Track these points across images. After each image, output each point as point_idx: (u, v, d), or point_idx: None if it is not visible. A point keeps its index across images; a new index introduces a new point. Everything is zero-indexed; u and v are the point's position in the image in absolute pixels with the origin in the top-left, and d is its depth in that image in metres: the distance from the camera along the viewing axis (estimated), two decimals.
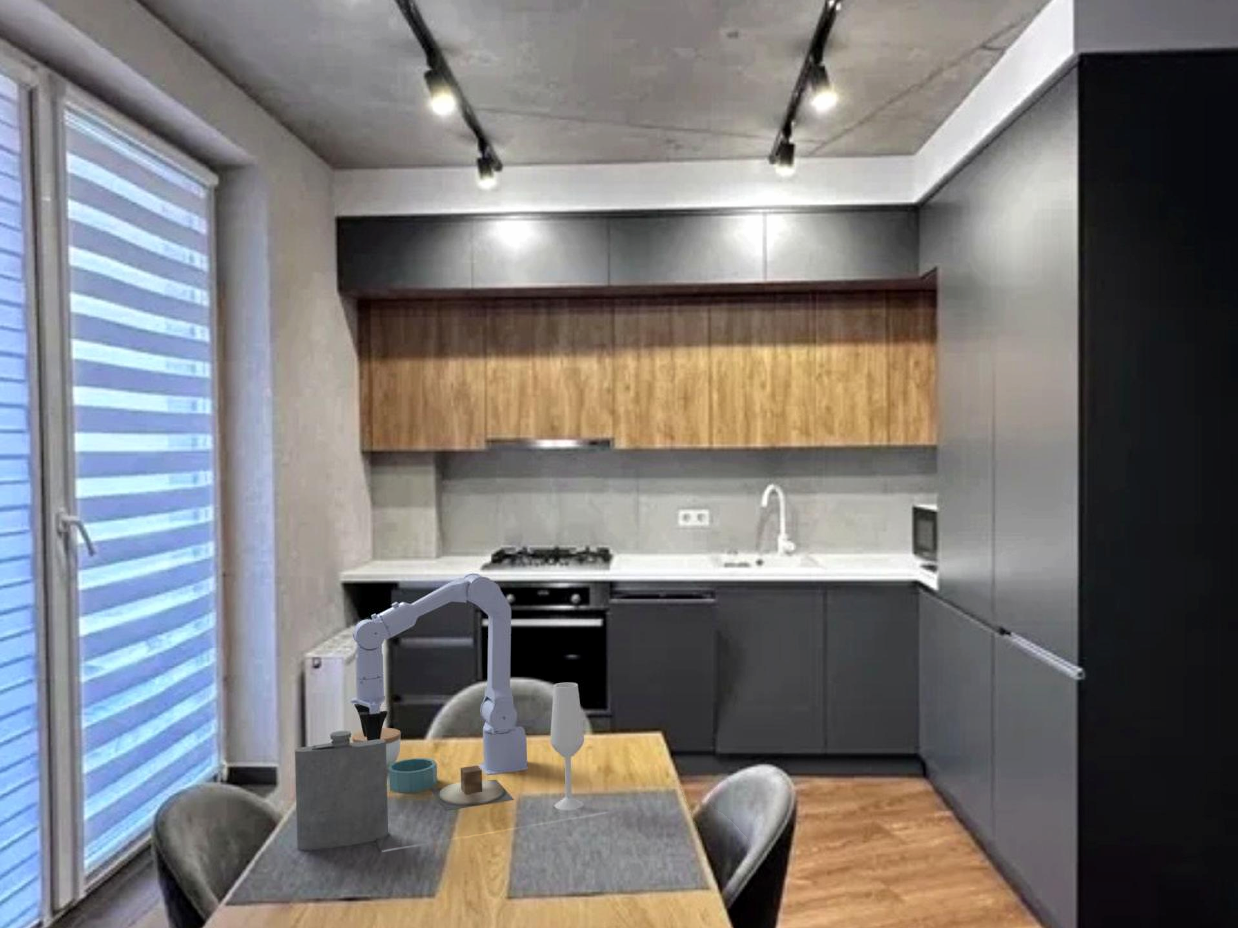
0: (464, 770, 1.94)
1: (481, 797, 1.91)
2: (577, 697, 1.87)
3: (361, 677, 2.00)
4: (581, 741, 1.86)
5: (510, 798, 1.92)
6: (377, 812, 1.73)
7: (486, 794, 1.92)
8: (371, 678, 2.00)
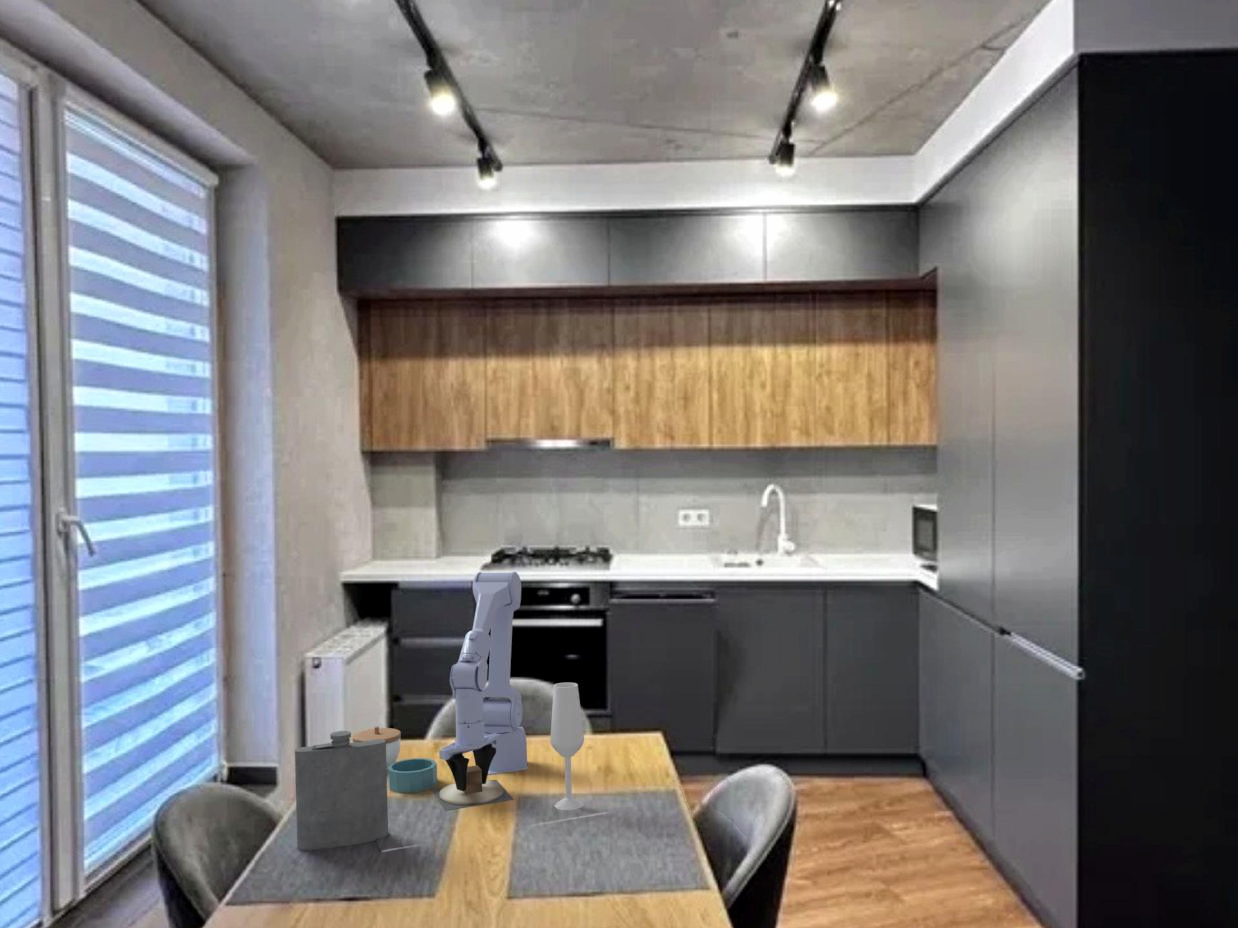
0: None
1: (481, 797, 1.91)
2: (577, 697, 1.87)
3: (476, 720, 1.93)
4: (581, 741, 1.86)
5: (510, 798, 1.92)
6: (377, 812, 1.73)
7: (486, 794, 1.92)
8: (458, 722, 1.93)
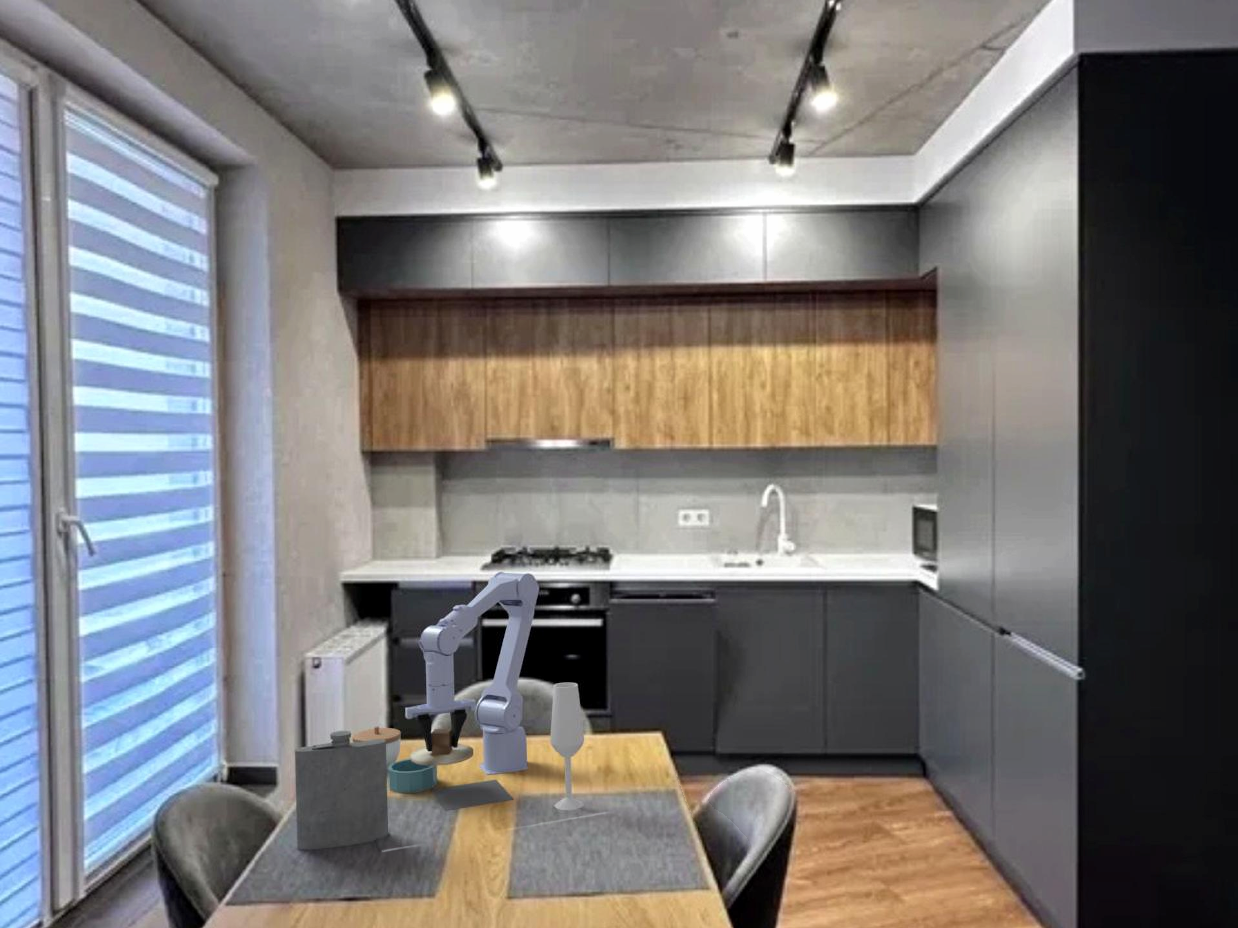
0: (434, 731, 1.99)
1: (440, 759, 1.94)
2: (577, 697, 1.87)
3: (440, 684, 1.96)
4: (581, 741, 1.86)
5: (510, 798, 1.92)
6: (377, 812, 1.73)
7: (448, 757, 1.95)
8: (426, 684, 1.98)
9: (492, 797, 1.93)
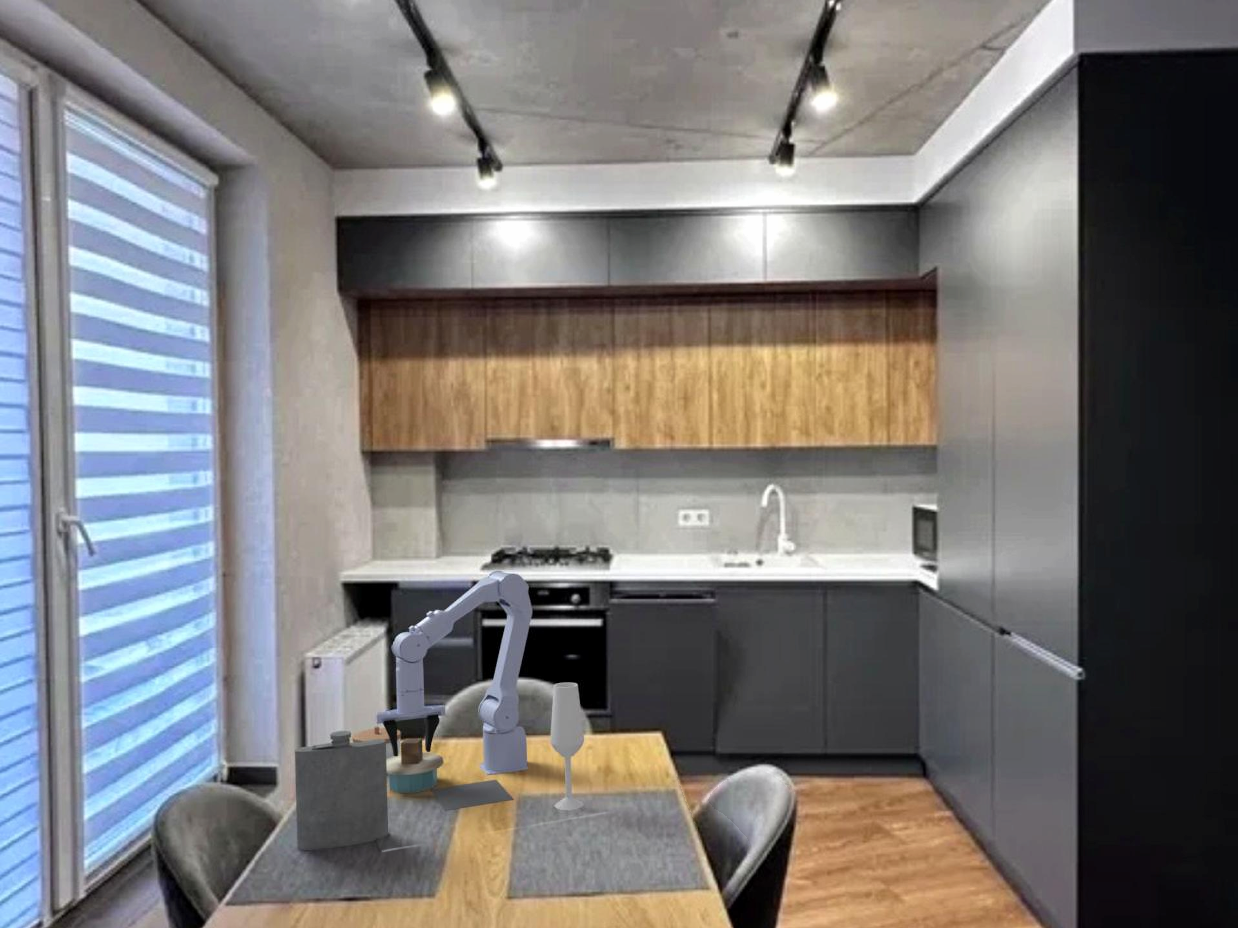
0: (404, 741, 2.02)
1: (408, 769, 1.97)
2: (577, 697, 1.87)
3: (404, 690, 2.00)
4: (581, 741, 1.86)
5: (510, 798, 1.92)
6: (377, 812, 1.73)
7: (417, 767, 1.99)
8: None
9: (492, 797, 1.93)
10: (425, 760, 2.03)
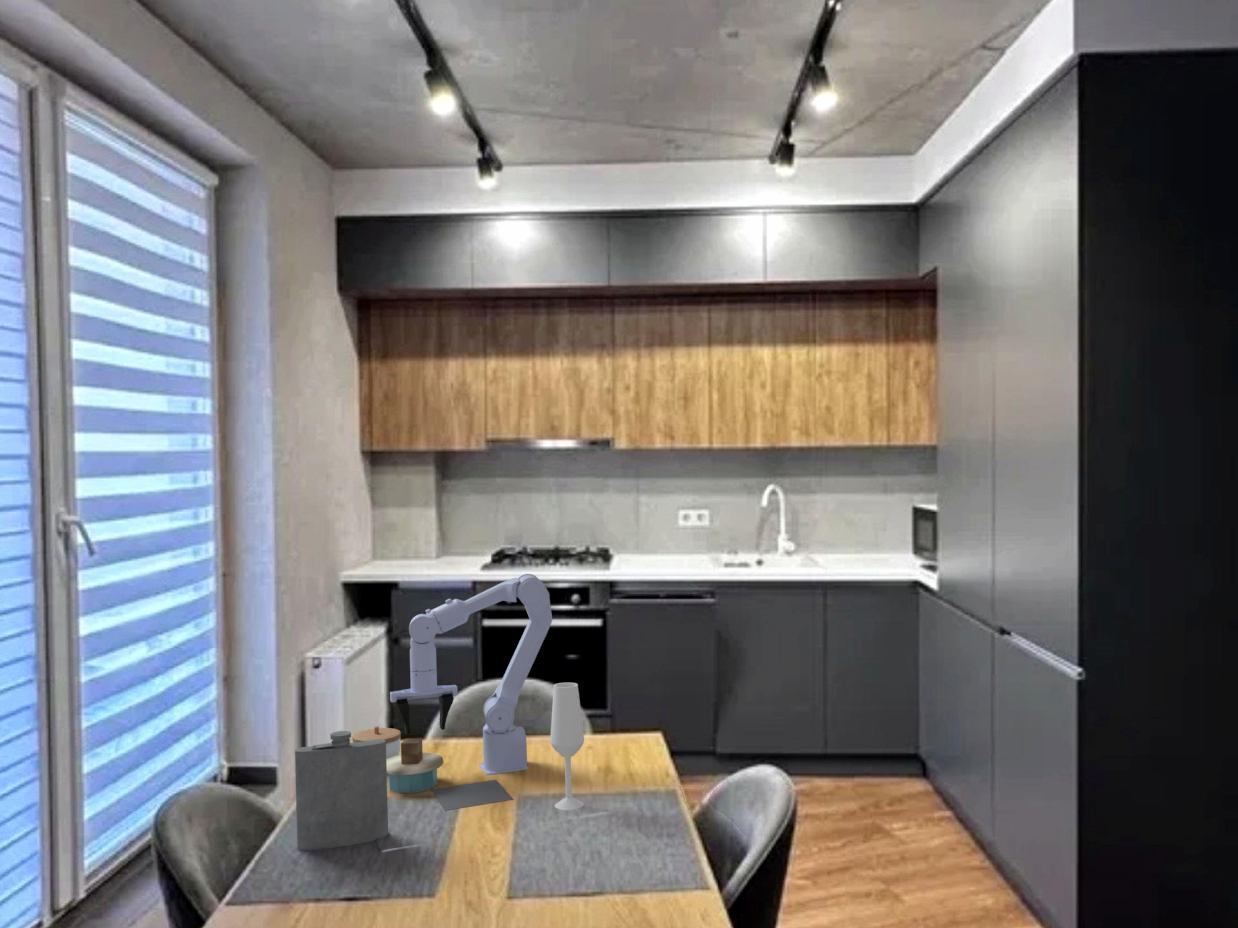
0: (404, 741, 2.02)
1: (408, 769, 1.97)
2: (577, 697, 1.87)
3: (414, 669, 2.07)
4: (581, 741, 1.86)
5: (510, 798, 1.92)
6: (377, 812, 1.73)
7: (417, 767, 1.99)
8: (410, 669, 2.09)
9: (492, 797, 1.93)
10: (425, 760, 2.03)
